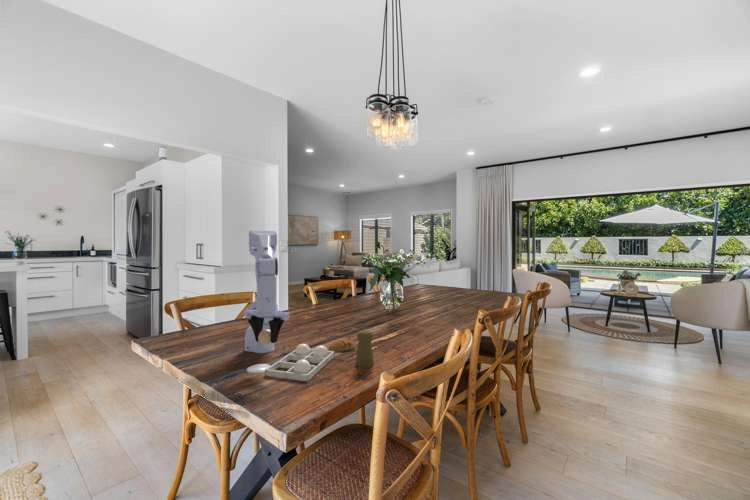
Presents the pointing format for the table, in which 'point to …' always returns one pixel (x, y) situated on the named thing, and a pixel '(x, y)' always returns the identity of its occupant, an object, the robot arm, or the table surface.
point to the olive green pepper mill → (364, 349)
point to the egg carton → (292, 356)
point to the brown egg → (265, 337)
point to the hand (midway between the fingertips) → (266, 341)
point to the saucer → (257, 368)
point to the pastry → (342, 345)
